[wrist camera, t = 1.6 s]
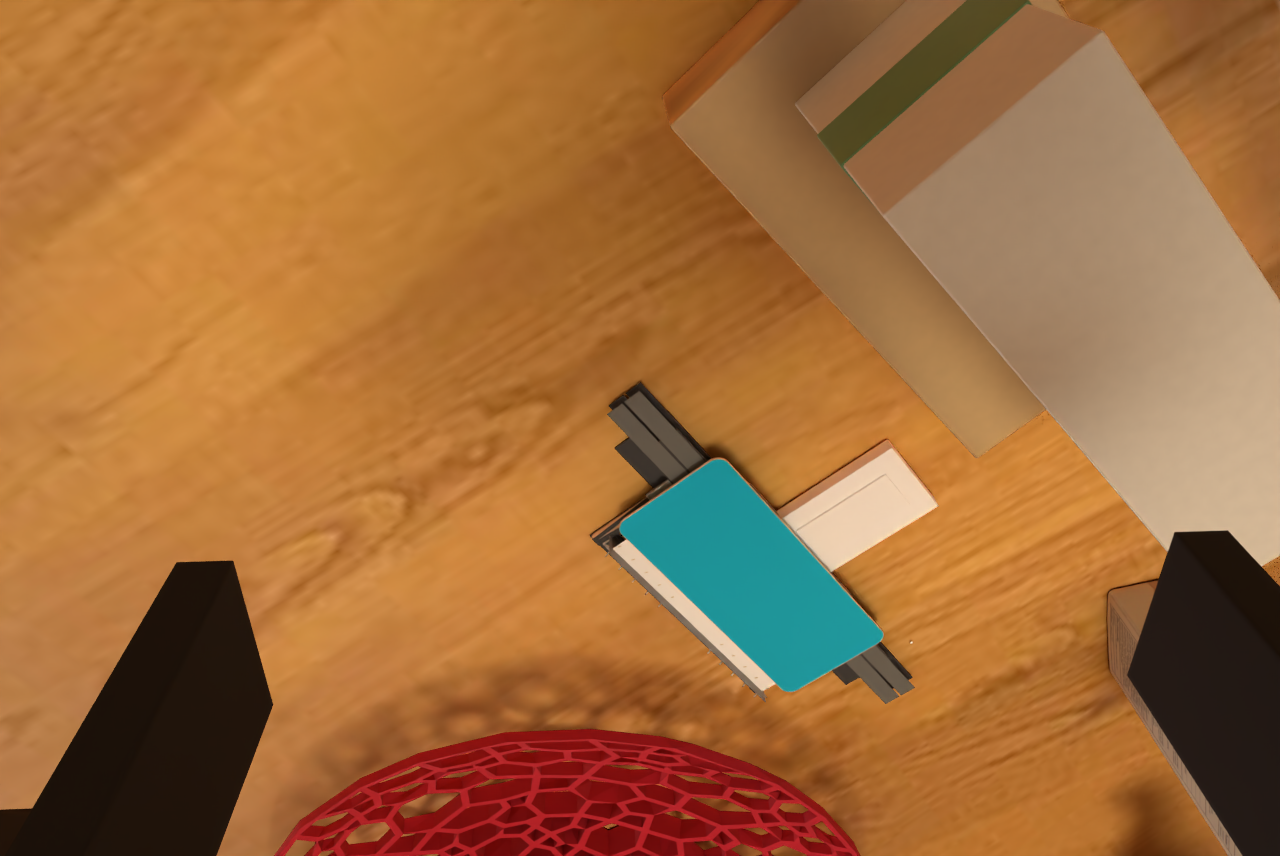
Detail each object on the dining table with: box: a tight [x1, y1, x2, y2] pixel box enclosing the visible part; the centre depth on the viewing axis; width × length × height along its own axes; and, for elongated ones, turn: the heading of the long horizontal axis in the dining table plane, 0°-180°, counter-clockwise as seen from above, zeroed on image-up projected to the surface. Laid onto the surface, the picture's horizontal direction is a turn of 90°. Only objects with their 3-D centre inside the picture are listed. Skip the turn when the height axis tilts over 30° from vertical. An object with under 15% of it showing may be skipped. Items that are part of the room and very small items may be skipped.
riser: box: [662, 0, 1070, 458], centre depth 32 cm, size 10×16×4 cm, turn 43°
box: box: [1107, 580, 1242, 856], centre depth 39 cm, size 5×4×11 cm
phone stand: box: [590, 382, 938, 704], centre depth 40 cm, size 20×12×2 cm, turn 39°
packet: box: [795, 0, 1280, 567], centre depth 26 cm, size 14×5×10 cm, turn 43°
